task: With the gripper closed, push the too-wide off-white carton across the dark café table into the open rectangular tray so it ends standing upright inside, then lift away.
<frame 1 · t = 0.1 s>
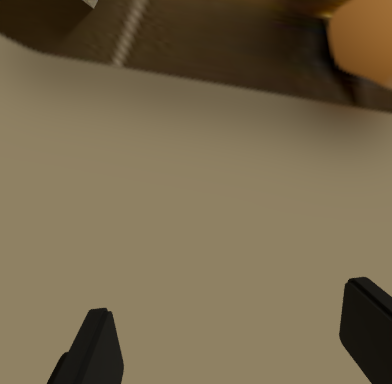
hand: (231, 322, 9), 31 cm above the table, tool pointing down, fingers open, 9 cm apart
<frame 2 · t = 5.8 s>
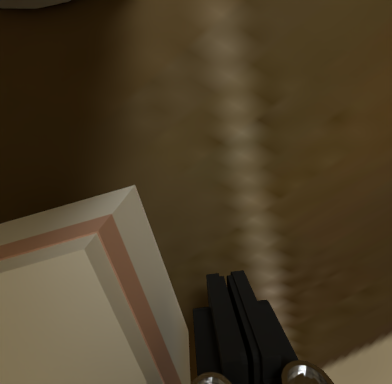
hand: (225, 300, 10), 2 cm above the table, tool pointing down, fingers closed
carton: (82, 287, 12), on the table
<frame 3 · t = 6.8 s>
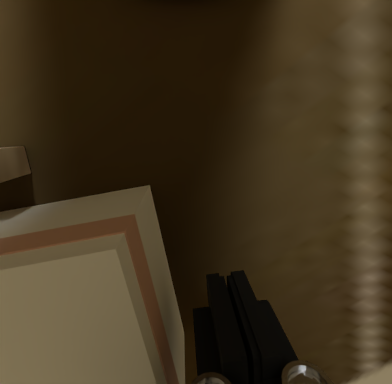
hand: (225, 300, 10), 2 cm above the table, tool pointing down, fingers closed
carton: (84, 281, 12), on the table, touching gripper
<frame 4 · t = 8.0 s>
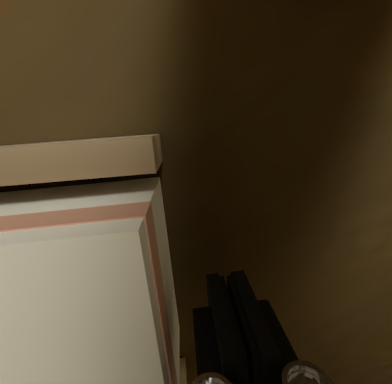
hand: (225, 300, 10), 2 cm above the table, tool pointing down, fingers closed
carton: (85, 268, 12), on the table, touching gripper
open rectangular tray: (60, 284, 12), on the table
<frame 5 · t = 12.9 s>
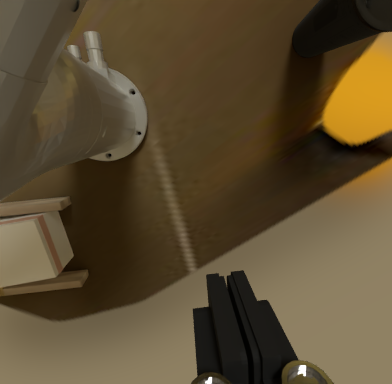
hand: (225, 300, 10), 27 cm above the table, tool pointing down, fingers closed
drinking cup: (308, 39, 32), on the table
carton: (38, 236, 37), on the table
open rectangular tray: (42, 241, 38), on the table
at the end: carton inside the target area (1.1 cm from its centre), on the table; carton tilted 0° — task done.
